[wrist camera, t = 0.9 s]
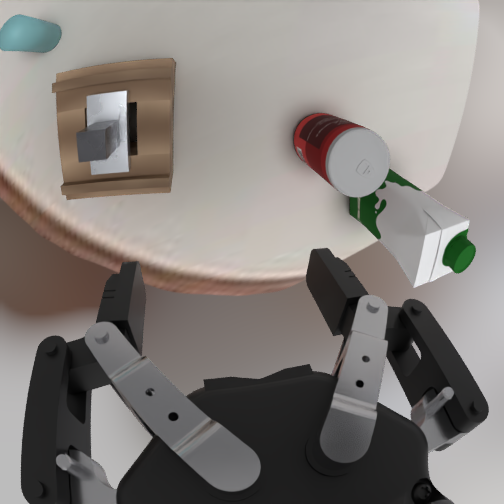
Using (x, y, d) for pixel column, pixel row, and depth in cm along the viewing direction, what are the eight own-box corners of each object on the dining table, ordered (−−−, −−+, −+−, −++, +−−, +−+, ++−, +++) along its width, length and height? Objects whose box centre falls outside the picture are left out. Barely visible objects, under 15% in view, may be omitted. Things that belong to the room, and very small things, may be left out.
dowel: (36, 28, 18) (0, 22, 11) (62, 20, 19) (29, 9, 12) (34, 55, 21) (-4, 55, 13) (60, 48, 22) (25, 44, 14)
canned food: (332, 172, 39) (373, 205, 30) (283, 156, 37) (316, 186, 28) (352, 125, 36) (401, 146, 27) (303, 103, 33) (345, 116, 24)
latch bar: (90, 95, 21) (66, 101, 16) (129, 90, 22) (113, 93, 17) (94, 171, 25) (75, 194, 20) (130, 167, 26) (118, 190, 21)
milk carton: (388, 208, 45) (467, 281, 29) (343, 220, 44) (417, 306, 28) (391, 160, 40) (485, 222, 24) (342, 169, 39) (434, 243, 23)
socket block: (79, 73, 24) (52, 73, 18) (175, 62, 27) (171, 57, 21) (85, 178, 32) (63, 203, 26) (172, 171, 35) (169, 196, 28)
